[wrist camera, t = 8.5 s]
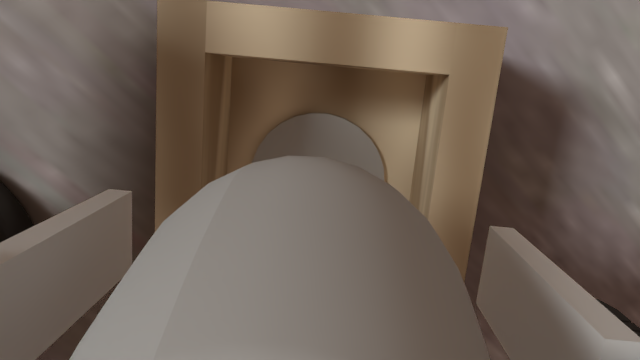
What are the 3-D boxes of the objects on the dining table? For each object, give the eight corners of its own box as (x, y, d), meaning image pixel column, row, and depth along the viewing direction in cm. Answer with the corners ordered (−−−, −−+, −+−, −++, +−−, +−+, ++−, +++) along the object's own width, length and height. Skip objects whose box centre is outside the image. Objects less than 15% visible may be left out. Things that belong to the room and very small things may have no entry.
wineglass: (275, 262, 26) (75, 942, 6) (226, 135, 25) (-290, 446, 4) (404, 222, 25) (702, 837, 5) (363, 88, 24) (549, 189, 3)
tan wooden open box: (197, 256, 28) (153, 313, 22) (206, 17, 25) (157, -4, 19) (425, 279, 28) (453, 343, 21) (461, 40, 25) (507, 27, 18)
